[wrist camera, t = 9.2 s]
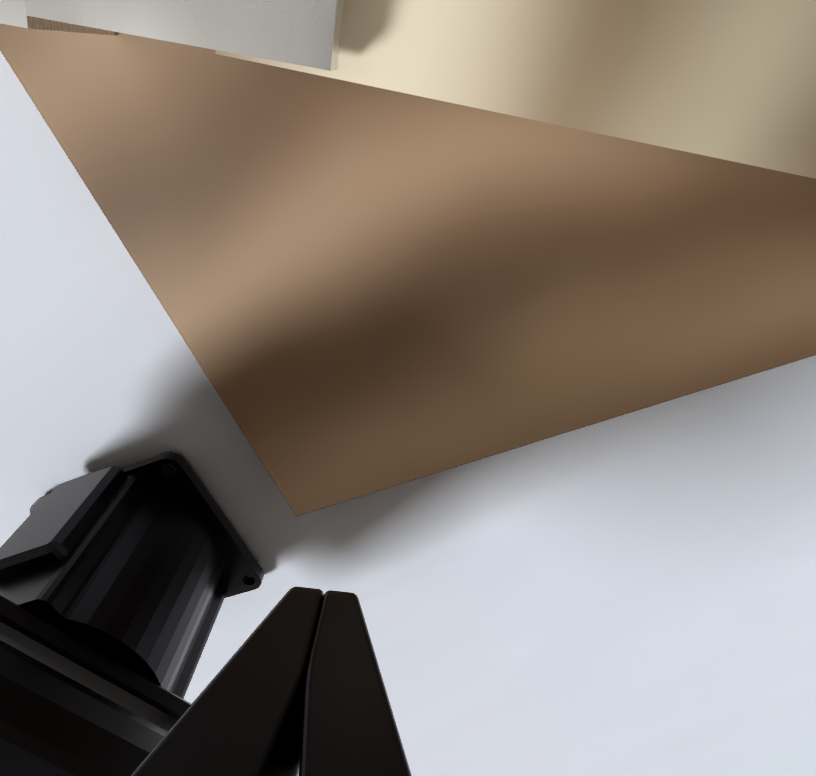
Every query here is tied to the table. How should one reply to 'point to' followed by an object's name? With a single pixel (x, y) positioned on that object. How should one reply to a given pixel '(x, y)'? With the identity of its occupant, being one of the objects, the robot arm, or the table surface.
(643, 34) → the link
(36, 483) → the table surface
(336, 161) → the board
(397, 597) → the table surface
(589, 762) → the table surface
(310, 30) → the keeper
